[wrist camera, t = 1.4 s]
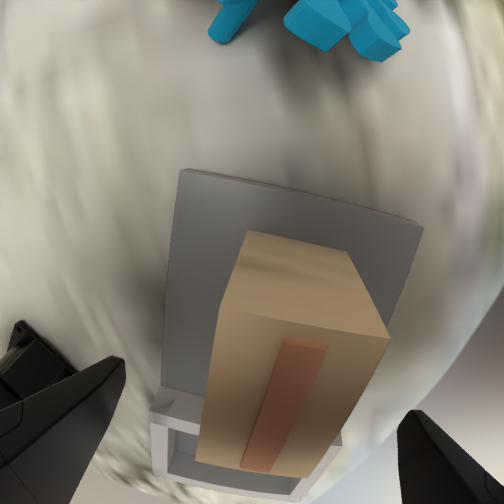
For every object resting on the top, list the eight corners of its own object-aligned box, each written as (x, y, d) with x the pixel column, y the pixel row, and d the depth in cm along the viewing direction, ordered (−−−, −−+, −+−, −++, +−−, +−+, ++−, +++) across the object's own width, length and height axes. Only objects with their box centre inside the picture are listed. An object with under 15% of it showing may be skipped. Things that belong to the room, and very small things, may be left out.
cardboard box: (303, 374, 15) (307, 482, 9) (222, 358, 15) (193, 464, 9) (346, 251, 12) (392, 343, 7) (247, 229, 12) (217, 311, 7)
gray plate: (294, 476, 20) (294, 508, 17) (164, 451, 20) (153, 482, 17) (414, 221, 13) (445, 243, 10) (187, 168, 13) (161, 177, 10)
